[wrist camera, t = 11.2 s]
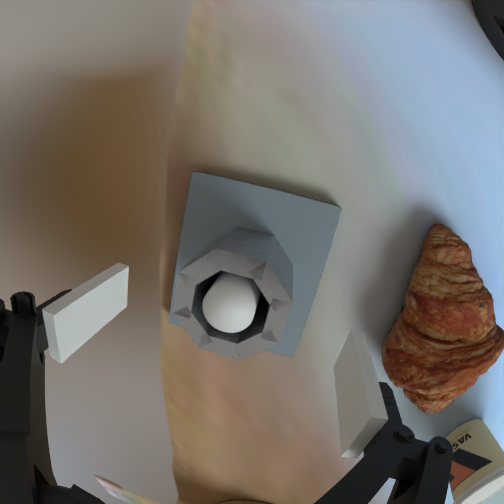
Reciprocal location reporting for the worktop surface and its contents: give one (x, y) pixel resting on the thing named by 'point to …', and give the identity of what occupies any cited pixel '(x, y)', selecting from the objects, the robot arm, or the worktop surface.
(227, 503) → the vase
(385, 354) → the pastry
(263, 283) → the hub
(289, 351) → the shaft block
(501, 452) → the coffee cup
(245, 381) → the worktop surface
